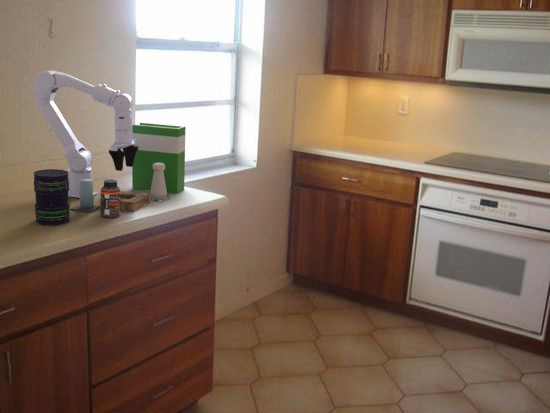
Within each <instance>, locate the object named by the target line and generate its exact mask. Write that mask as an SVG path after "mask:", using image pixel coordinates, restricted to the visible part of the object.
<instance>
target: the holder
mask: <svg viewBox="0 0 550 413" xmlns="http://www.w3.org/2000/svg"><path fill="white" fill-rule="evenodd" d="M99 199H100V200H99V202H100V203H99V204H100V205H99V206H101V197H100V198H99ZM150 203H151V194H148V193H147V194H146V193H139V192H131V191H123V190H120V211H125V212H133V213H134V212H136V211H138V210H140V209H141V208H143V207H145V206H147V205H149V204H150Z"/></svg>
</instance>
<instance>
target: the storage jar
mask: <svg viewBox="0 0 550 413" xmlns="http://www.w3.org/2000/svg"><path fill="white" fill-rule="evenodd" d="M65 170H66V169H65ZM65 170H64V169H56V168H53V169H51V168H49V169H40V170H36V171H33V176H34V177H33V190H34V194H35V195H34V196H35V203H34V214H35V218H36V219H35V223H36V224H37V225H39V226H45V227H49V226H50V227H57V226H62V225H66V224H69V223H70V221H71V220H70V219H71V218H70V213H71V210H70V208H71V205H70V202H69V196H68V191H69V177H68V171H65Z"/></svg>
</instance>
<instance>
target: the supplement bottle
mask: <svg viewBox="0 0 550 413" xmlns="http://www.w3.org/2000/svg"><path fill="white" fill-rule="evenodd" d="M120 191H121V188H120V187H119V186H118V180H117V179H105V180H103V186H102V187H101V188H100V198H101V208H100V216H102V217H104V218H110V219H112V218H117V217H119V216H120V214H121V210H120Z"/></svg>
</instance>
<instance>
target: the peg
mask: <svg viewBox="0 0 550 413" xmlns="http://www.w3.org/2000/svg"><path fill="white" fill-rule="evenodd" d="M79 189H80V198H79V205H80V208H81V209H92V208H94V195H93V192H94V180H93V178H92V179H81V180H79Z"/></svg>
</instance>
